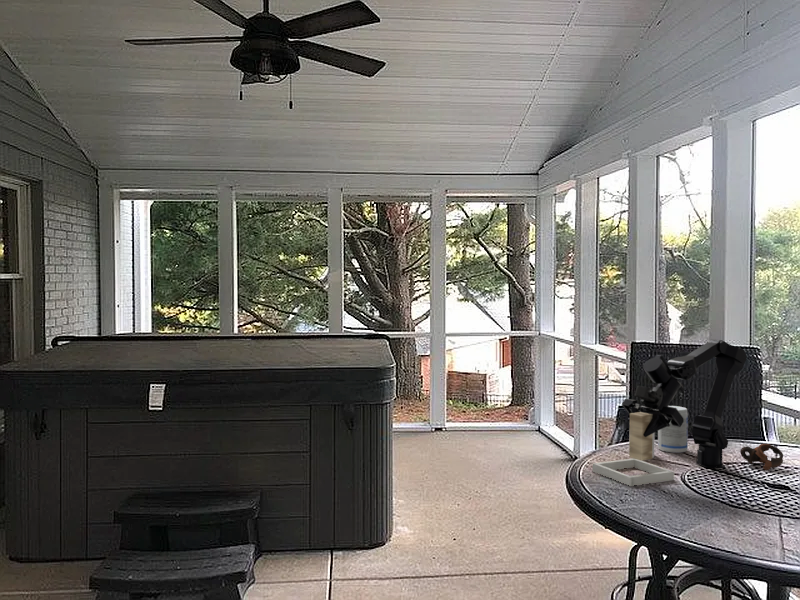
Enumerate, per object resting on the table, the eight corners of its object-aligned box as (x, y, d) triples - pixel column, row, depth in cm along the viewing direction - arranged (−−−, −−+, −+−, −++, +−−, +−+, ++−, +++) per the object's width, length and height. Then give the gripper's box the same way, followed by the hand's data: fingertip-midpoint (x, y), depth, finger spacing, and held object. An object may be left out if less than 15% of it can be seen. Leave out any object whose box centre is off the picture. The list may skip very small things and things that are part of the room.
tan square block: (639, 455, 206) (640, 411, 206) (652, 458, 202) (652, 414, 202) (629, 457, 204) (629, 413, 203) (641, 460, 200) (642, 416, 200)
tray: (634, 466, 217) (634, 458, 217) (674, 480, 202) (674, 471, 202) (592, 471, 211) (592, 463, 211) (630, 486, 196) (630, 477, 196)
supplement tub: (693, 452, 235) (694, 409, 235) (668, 454, 233) (669, 410, 232) (675, 446, 244) (676, 404, 244) (651, 447, 242) (652, 405, 242)
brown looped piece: (774, 465, 222) (784, 446, 218) (777, 484, 215) (787, 465, 210) (735, 452, 225) (744, 434, 221) (736, 472, 218) (746, 453, 213)
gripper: (626, 372, 212) (599, 411, 207) (677, 380, 196) (650, 422, 191) (643, 395, 217) (618, 434, 211) (695, 405, 200) (669, 447, 195)
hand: (637, 434), depth 202 cm, fingers closed on tan square block, 4 cm apart
